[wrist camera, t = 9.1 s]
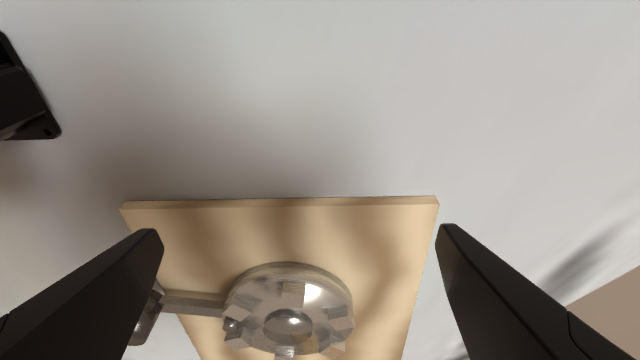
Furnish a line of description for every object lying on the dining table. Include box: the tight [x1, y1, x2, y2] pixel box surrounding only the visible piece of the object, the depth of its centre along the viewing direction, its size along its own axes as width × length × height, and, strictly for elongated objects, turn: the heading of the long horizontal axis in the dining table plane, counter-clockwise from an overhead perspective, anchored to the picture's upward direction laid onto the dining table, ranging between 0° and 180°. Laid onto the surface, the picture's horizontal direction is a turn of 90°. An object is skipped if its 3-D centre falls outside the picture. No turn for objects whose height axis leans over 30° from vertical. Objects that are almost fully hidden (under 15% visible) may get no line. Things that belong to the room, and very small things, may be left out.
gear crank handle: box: [128, 262, 355, 360], centre depth 26 cm, size 20×12×4 cm, turn 82°
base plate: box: [119, 196, 440, 360], centre depth 28 cm, size 30×24×2 cm
